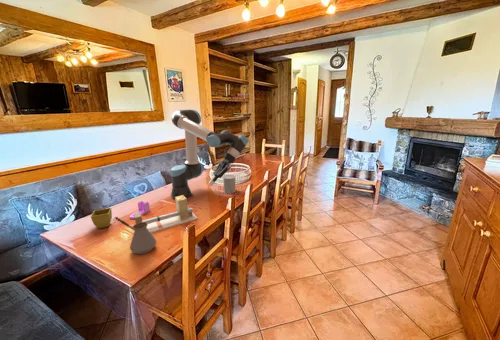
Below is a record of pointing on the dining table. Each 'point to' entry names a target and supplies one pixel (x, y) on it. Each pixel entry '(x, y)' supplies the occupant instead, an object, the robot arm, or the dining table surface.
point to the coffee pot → (140, 238)
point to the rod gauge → (164, 220)
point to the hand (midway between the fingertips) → (209, 184)
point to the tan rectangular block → (182, 206)
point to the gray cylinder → (229, 184)
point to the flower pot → (102, 217)
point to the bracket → (141, 209)
